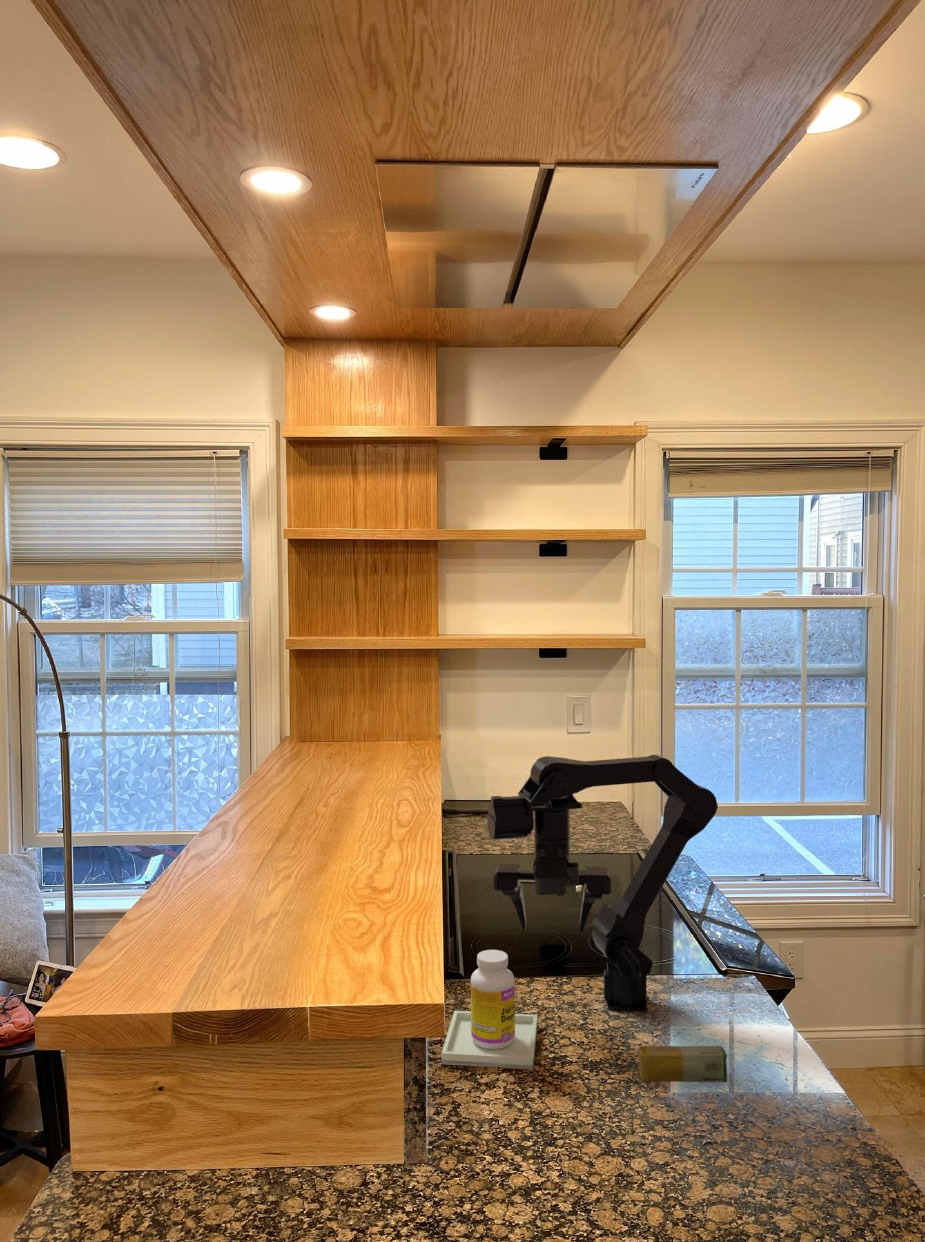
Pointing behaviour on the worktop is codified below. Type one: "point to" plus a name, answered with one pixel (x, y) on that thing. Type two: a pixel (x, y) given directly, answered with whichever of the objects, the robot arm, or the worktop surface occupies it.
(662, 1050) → the medication box
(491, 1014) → the supplement bottle
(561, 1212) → the worktop surface
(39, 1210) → the worktop surface
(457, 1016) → the tray
